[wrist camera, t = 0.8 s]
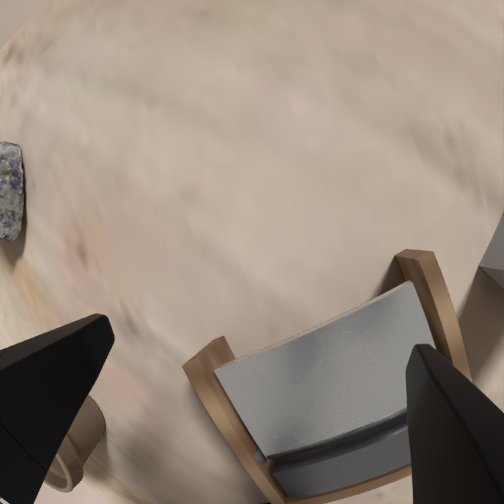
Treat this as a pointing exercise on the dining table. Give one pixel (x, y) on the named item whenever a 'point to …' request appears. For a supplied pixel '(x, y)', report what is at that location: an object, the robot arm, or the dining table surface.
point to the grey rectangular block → (495, 256)
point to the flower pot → (76, 447)
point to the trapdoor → (333, 395)
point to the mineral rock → (10, 191)
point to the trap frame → (238, 436)
